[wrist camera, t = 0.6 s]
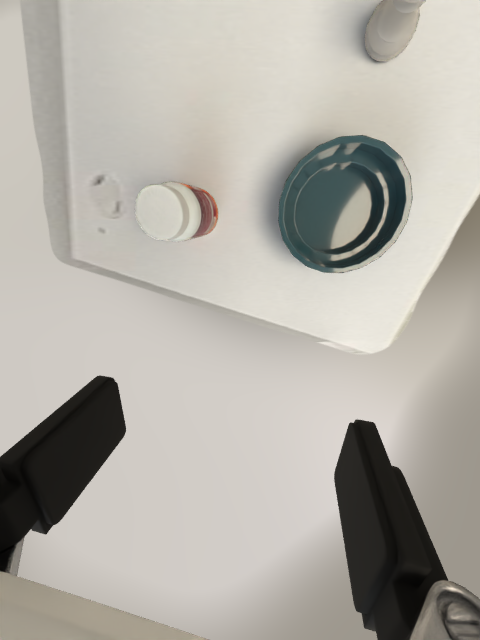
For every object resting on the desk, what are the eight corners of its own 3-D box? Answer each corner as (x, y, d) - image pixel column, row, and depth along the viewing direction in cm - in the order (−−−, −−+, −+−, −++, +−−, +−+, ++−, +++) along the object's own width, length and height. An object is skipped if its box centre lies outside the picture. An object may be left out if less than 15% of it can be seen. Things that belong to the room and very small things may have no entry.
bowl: (283, 152, 30) (282, 140, 25) (404, 146, 27) (428, 130, 23) (278, 263, 35) (275, 271, 30) (379, 265, 33) (394, 274, 28)
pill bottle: (209, 180, 33) (171, 165, 22) (225, 227, 34) (197, 233, 24) (170, 198, 34) (118, 192, 24) (187, 242, 36) (146, 253, 26)
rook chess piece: (355, 58, 26) (380, -4, 18) (377, -4, 24) (414, -100, 16) (397, 69, 25) (440, 11, 18) (423, 8, 23) (482, -85, 16)
